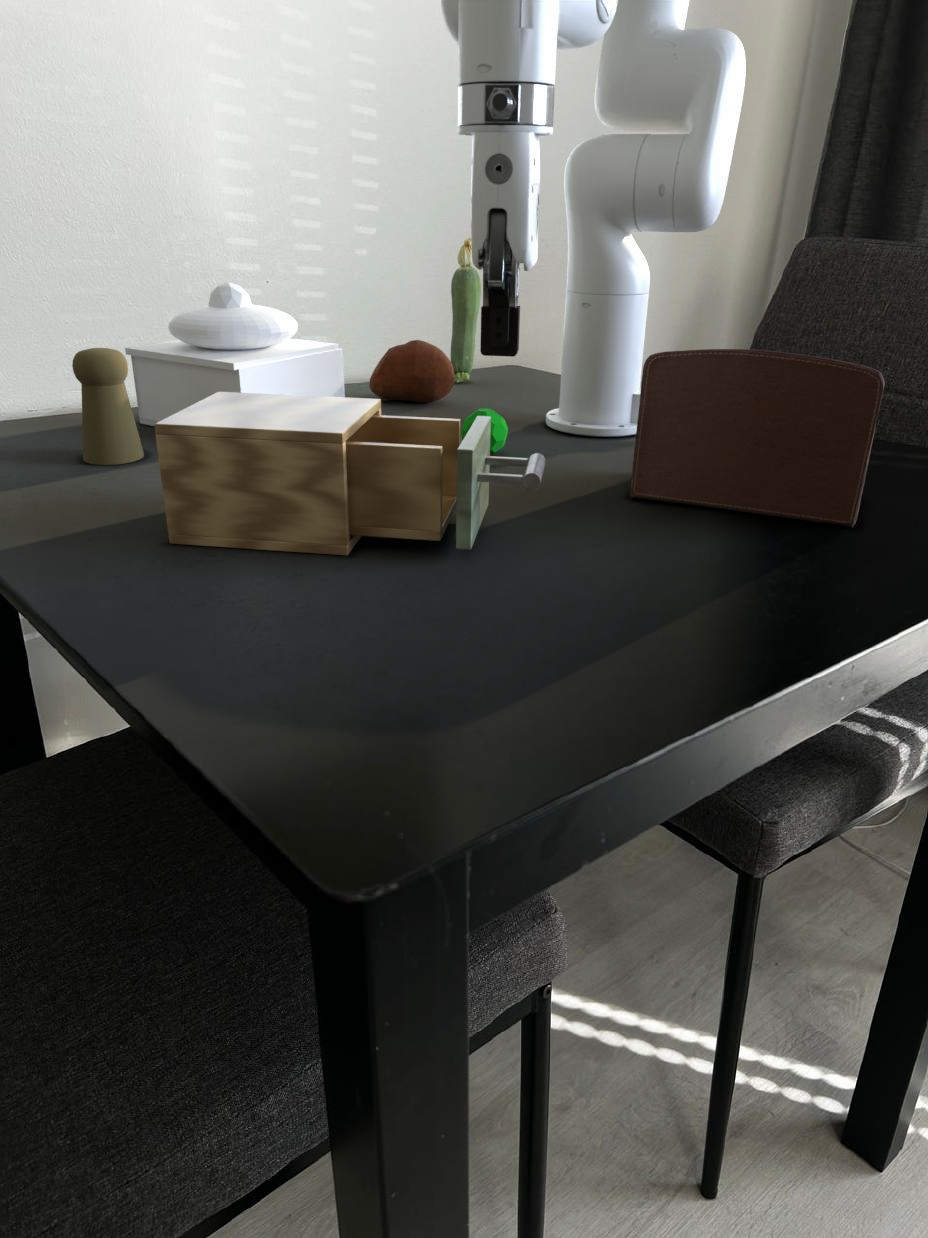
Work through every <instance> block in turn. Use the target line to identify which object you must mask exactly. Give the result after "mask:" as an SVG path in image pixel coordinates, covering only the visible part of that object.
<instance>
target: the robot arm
mask: <svg viewBox="0 0 928 1238" xmlns="http://www.w3.org/2000/svg"><path fill="white" fill-rule="evenodd" d="M440 2H441V4H440V5H441V15H442V18H443V22H444V25H445V28H446V30H447V32H448V35H449V36H450V37H451V39H452V40H453V42H454V43H455V44H456V45H458V52H457V53H458V54H457V55H458V56H457V57H458V59H457V60H458V61H457V62H458V68H457V69H458V72H457V73H458V77H457V80H458V81H457V85H458V87H457V135H459V136H469V137H470V136H471V162H470V165H471V171H470V180H471V181H470V238H471V248H472V250H471V254H472V265H473V266H474V267H475V268H476V269H477V270H479V271H482V306H480V350H479V351H480V354H481V355H482V356H485V357H510V358H511V357H516V356H517V355H518V352H519V351H520V350H519V349H520V326H521V325H520V324H521V305H519V297H520V296H519V295H520V294H519V293H520V274H521V273H520V272H521V264H523V271H525V272H528V271H530V270H531V269H533V267H534V266H535V265H536V264H537V262H538V258H539V257H538V256H539V219H540V218H539V217H540V193H541V191H540V189H541V188H540V187H541V148H540V137H548V136H554V116H555V115H554V114H555V93H556V87H555V86H556V67H557V51H565V50H577V49H581V48H582V49H583V48H585V47H589V46H591V45H593V44H595V43H596V42H599V40H600V39H601V38H602V37H603V39H602V44H601V51H600V55H599V61H598V67H597V73H596V80H595V88H594V97H593V98H594V100H593V102H594V110H595V113H596V117H597V118H598V120H599V121H600V122H601V124H602V125H604V126H606V127H607V128H609V129H612V130H616V131H622V132H633V133H612V134H611V133H610V134H602V135H597V136H593V137H590V138H587V139H585V140H582V142H580V143H578V145H576V146H575V147H574V148H573V149H572V151H571V152H570V154H569V156H568V157H567V160H566V163H565V167H564V174H563V193H564V203H565V214H566V215H565V216H566V226H567V266H566V267H567V269H566V287H565V288H566V289H565V300H564V303H565V304H564V316H563V317H564V318H563V336H562V352H561V367H560V369H561V370H560V384H559V387H560V388H559V401H558V402H559V403H558V407H557V408H554V409H551V410H549V411H547V413H546V415H545V424H546V425H547V426H548V427H549V428H551V429H553V430H555V431H558V432H562V433H566V434H571V435H577V436H583V437H584V436H585V437H601V438H603V437H604V438H610V437H611V438H612V437H613V438H614V437H628V436H634V435H635V436H636V431H637V422H638V413H639V404H640V393H641V381H642V372H643V359H644V349H645V341H646V340H645V339H646V328H647V327H646V326H647V319H648V307H649V299H650V298H649V296H650V289H651V288H650V287H651V273H650V272H651V271H650V267H649V264H648V262H647V259H646V257H645V255H644V254H643V252H642V250H641V249H640V247H639V244H637V242H636V240H635V239H634V237H633V235H632V233H642V232H653V233H654V232H659V233H660V232H661V233H697V232H698V233H699V232H702V231H705V230H707V229H709V228H710V227H711V226H713V225H714V223H715V222H716V221H717V219H718V217H719V216H720V213H721V210H722V207H723V204H724V200H725V196H726V190H727V186H728V182H729V176H730V170H731V166H732V159H733V153H734V149H735V145H736V144H735V143H736V137H737V133H738V127H739V122H740V117H741V113H742V112H741V111H742V108H743V107H742V106H743V100H744V93H745V86H746V76H747V75H746V73H747V71H746V69H747V63H746V62H747V60H746V53H745V49H744V46H743V45H744V44H743V43H742V41H741V39H740V38H739V36H738V35H737V34H735V33H734V32H733V31H731V30H729V29H726V28H719V27H703V28H702V27H701V28H686V27H685V26H686V21H687V15H688V10H689V5H690V0H440ZM634 132H636V133H634ZM639 132H641V133H639ZM644 132H645V133H644ZM655 132H657V133H656V134H655ZM658 132H660V133H659V134H658ZM661 132H662V133H661ZM663 132H664V133H663ZM665 132H667V133H665ZM668 132H683V133H668ZM684 132H686V133H684ZM687 132H689V133H687ZM652 133H653V134H652Z"/></svg>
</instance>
